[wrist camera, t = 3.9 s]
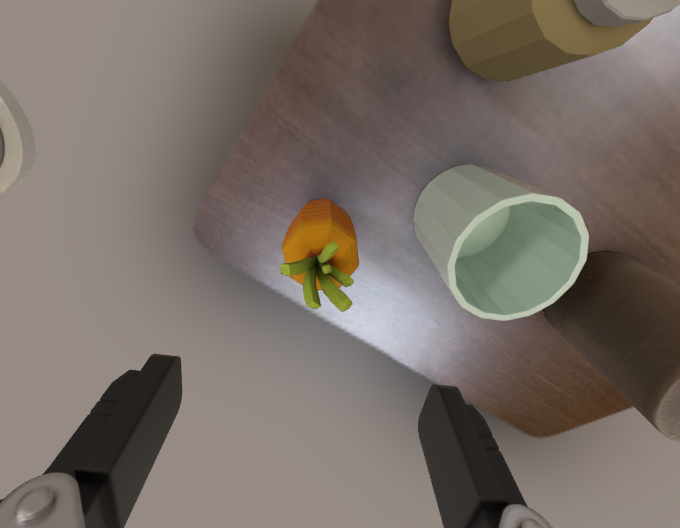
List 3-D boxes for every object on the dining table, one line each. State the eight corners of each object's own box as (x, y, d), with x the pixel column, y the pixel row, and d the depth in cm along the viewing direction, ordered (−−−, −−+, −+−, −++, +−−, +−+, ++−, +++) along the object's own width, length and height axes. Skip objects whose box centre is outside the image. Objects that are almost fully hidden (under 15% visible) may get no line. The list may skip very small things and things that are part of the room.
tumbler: (402, 252, 33) (431, 311, 24) (429, 155, 29) (475, 183, 20) (491, 265, 34) (551, 327, 25) (528, 173, 30) (615, 207, 21)
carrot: (283, 197, 30) (248, 280, 17) (332, 168, 29) (338, 231, 16) (313, 243, 32) (304, 350, 18) (360, 217, 31) (386, 310, 18)
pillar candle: (535, 273, 34) (670, 388, 21) (637, 235, 33) (852, 332, 19) (549, 343, 38) (670, 477, 25) (641, 312, 37) (822, 436, 23)
